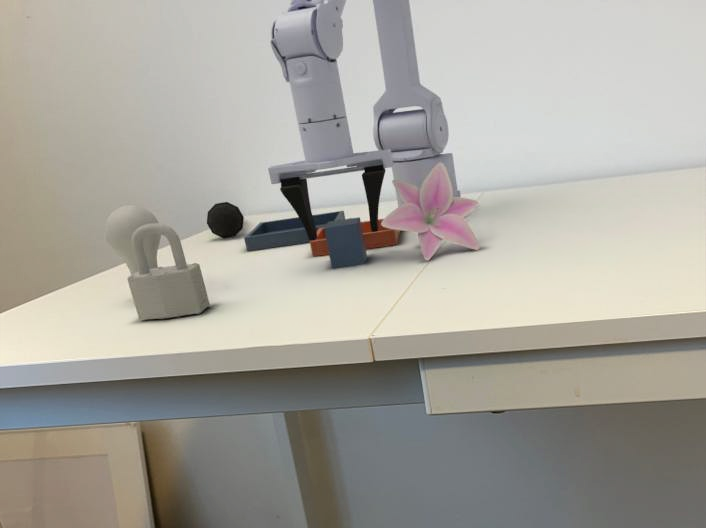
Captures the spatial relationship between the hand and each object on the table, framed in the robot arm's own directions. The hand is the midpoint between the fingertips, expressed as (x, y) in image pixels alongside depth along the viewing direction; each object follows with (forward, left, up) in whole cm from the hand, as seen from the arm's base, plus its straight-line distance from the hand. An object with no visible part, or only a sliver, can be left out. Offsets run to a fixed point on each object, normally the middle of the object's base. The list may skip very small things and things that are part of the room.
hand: (344, 234), depth 99 cm
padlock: (+18, +13, -4) cm, 22 cm away
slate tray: (+10, -22, -4) cm, 24 cm away
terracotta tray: (0, -11, -4) cm, 12 cm away
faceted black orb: (+23, -37, -4) cm, 44 cm away
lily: (-11, +1, -4) cm, 12 cm away
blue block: (0, 0, -4) cm, 4 cm away
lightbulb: (+24, +3, -4) cm, 24 cm away
